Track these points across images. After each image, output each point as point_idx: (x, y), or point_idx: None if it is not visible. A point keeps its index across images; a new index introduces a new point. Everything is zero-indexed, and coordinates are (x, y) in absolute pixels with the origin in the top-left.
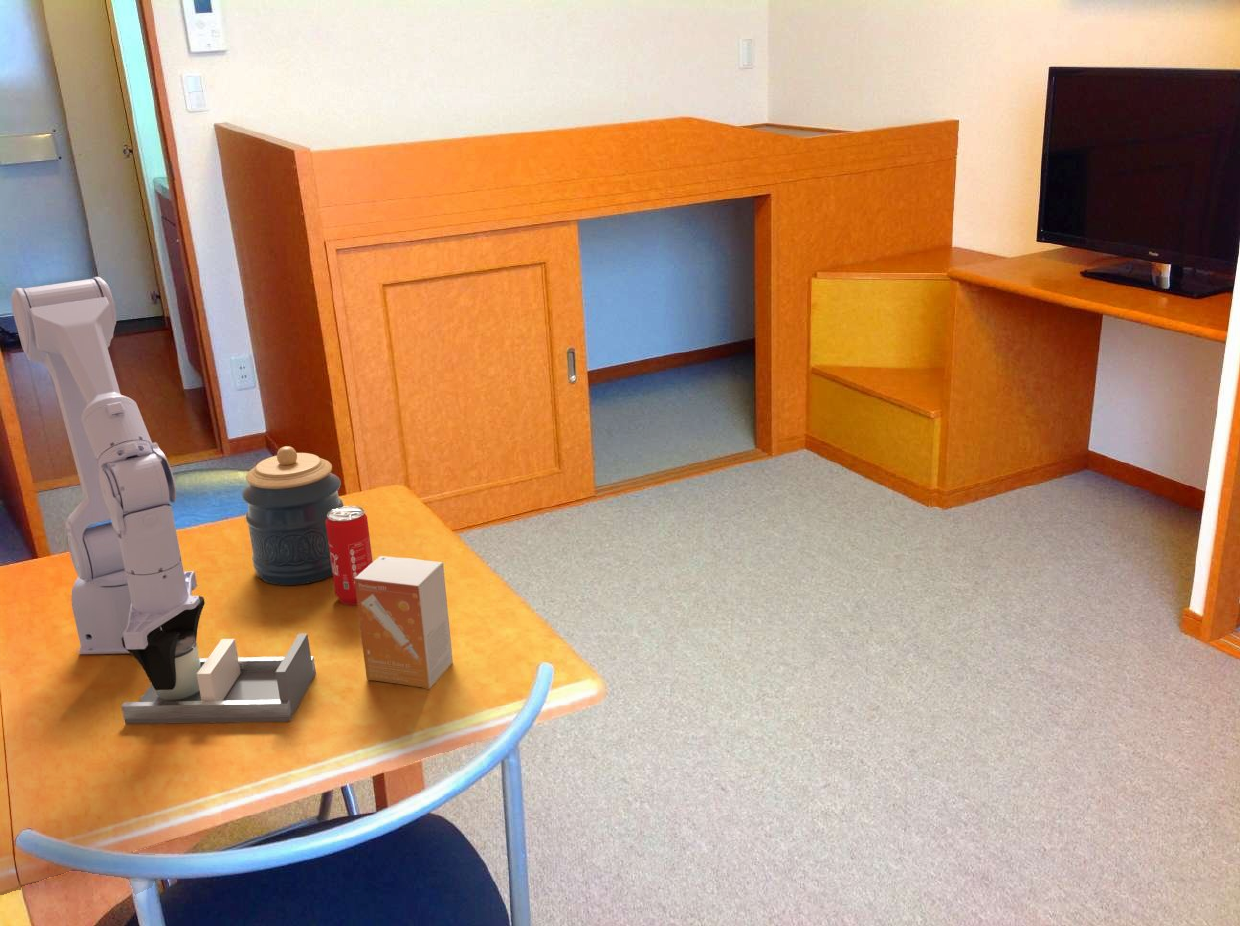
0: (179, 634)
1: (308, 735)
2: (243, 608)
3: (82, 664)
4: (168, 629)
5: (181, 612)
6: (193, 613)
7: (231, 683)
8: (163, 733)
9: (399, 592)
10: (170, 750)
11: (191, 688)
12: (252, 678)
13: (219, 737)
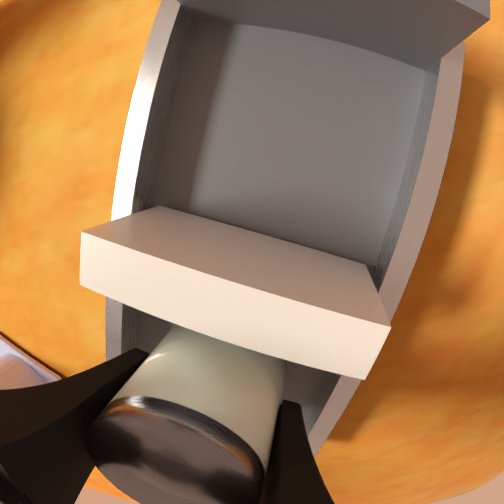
0: (122, 458)
1: (500, 36)
2: None
3: None
4: (88, 462)
5: (40, 478)
6: (29, 447)
7: (231, 228)
8: (385, 375)
9: None
10: (461, 351)
11: None
12: (190, 167)
13: (464, 247)
